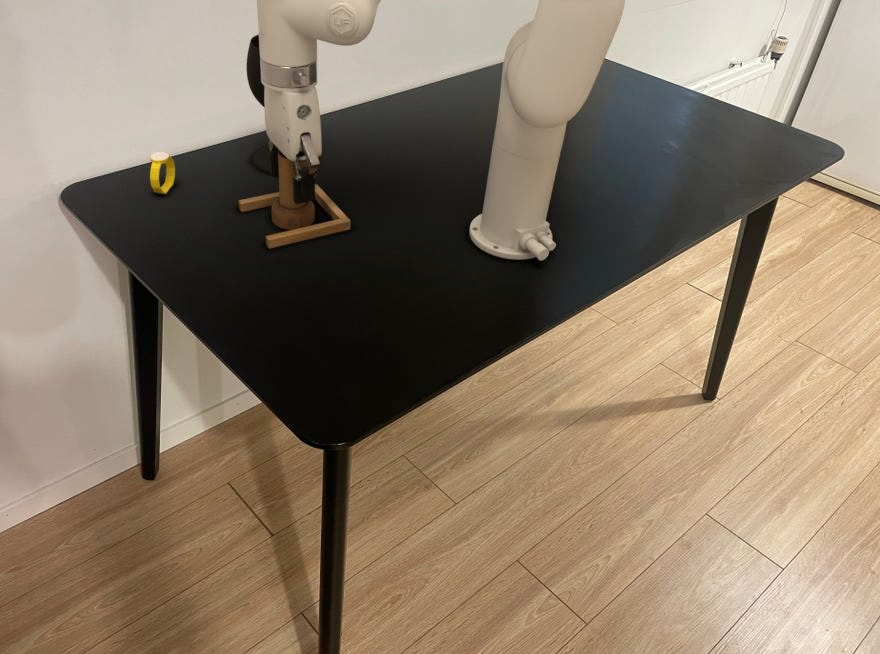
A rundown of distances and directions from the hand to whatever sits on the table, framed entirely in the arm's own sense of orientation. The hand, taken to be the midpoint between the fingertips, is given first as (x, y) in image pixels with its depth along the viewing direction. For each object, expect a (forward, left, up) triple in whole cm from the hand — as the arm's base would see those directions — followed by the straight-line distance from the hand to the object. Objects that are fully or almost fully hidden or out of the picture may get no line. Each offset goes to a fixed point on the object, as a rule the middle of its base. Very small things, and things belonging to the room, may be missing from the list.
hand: (292, 187), depth 115 cm
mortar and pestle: (0, 0, -6) cm, 6 cm away
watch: (+16, +15, -6) cm, 23 cm away
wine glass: (+18, -6, -6) cm, 20 cm away
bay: (0, +1, -5) cm, 5 cm away
